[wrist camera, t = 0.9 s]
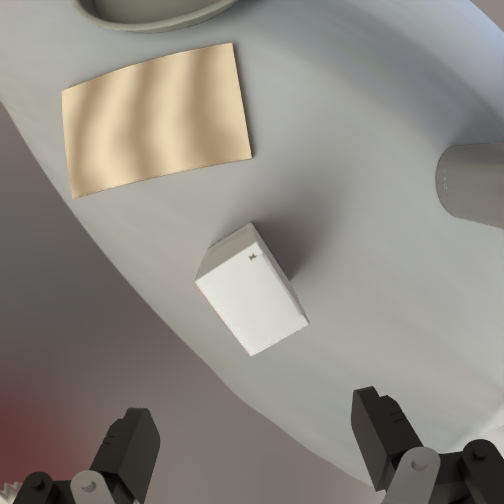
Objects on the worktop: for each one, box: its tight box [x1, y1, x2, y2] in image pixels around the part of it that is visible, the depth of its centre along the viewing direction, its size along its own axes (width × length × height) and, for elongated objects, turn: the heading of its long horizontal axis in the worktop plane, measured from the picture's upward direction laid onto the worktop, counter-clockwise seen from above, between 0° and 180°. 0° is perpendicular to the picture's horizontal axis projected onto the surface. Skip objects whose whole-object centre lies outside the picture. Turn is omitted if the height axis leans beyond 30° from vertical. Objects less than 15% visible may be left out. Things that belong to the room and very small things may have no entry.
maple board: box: [62, 43, 252, 198], centre depth 28 cm, size 20×13×1 cm, turn 99°
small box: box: [194, 222, 310, 356], centre depth 28 cm, size 8×6×10 cm
